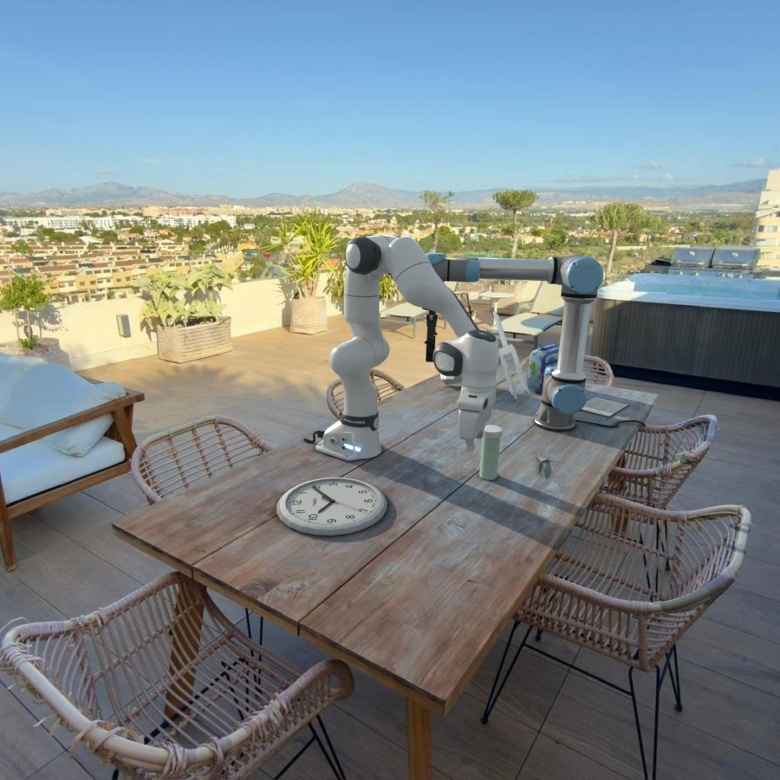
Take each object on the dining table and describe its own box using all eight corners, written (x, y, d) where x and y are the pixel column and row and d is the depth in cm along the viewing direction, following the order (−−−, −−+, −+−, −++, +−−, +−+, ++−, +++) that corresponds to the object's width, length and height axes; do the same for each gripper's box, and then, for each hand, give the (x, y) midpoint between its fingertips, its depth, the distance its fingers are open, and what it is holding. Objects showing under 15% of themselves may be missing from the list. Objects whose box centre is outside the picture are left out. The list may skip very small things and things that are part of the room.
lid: (479, 436, 156) (479, 430, 155) (483, 429, 161) (483, 423, 160) (499, 439, 153) (500, 433, 153) (503, 432, 159) (504, 426, 158)
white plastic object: (461, 429, 252) (437, 405, 227) (444, 352, 274) (420, 323, 250) (535, 404, 240) (518, 377, 215) (510, 326, 262) (492, 293, 237)
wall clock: (392, 527, 129) (268, 531, 127) (391, 533, 130) (269, 537, 127) (383, 473, 158) (282, 475, 155) (383, 478, 158) (282, 480, 156)
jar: (477, 478, 160) (481, 431, 155) (481, 470, 165) (484, 425, 160) (495, 481, 158) (499, 434, 154) (498, 474, 163) (502, 428, 158)
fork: (534, 474, 163) (535, 468, 162) (539, 454, 177) (539, 449, 176) (543, 475, 162) (544, 469, 161) (547, 455, 176) (547, 450, 175)
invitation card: (608, 416, 214) (573, 407, 224) (608, 416, 214) (573, 408, 224) (628, 404, 229) (594, 396, 238) (628, 405, 229) (594, 397, 238)
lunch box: (543, 396, 238) (548, 352, 231) (522, 391, 245) (526, 347, 239) (570, 385, 255) (575, 343, 249) (550, 381, 262) (555, 340, 256)
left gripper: (476, 382, 144) (473, 429, 148) (455, 403, 126) (452, 456, 130) (499, 385, 142) (495, 432, 146) (480, 407, 124) (477, 460, 128)
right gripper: (424, 293, 195) (422, 349, 202) (419, 302, 172) (417, 365, 178) (444, 294, 195) (441, 350, 201) (442, 303, 171) (439, 366, 177)
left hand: (475, 444), depth 138 cm, fingers open, 8 cm apart
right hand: (430, 357), depth 190 cm, fingers open, 13 cm apart
